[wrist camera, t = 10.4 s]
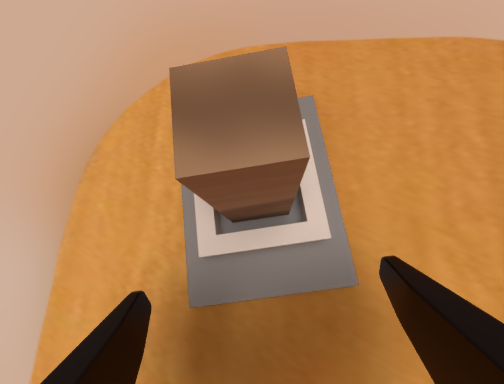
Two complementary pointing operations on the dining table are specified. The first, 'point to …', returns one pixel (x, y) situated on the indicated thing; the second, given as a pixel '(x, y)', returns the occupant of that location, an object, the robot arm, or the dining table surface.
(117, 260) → the dining table surface
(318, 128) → the socket board
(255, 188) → the tall wooden pillar
